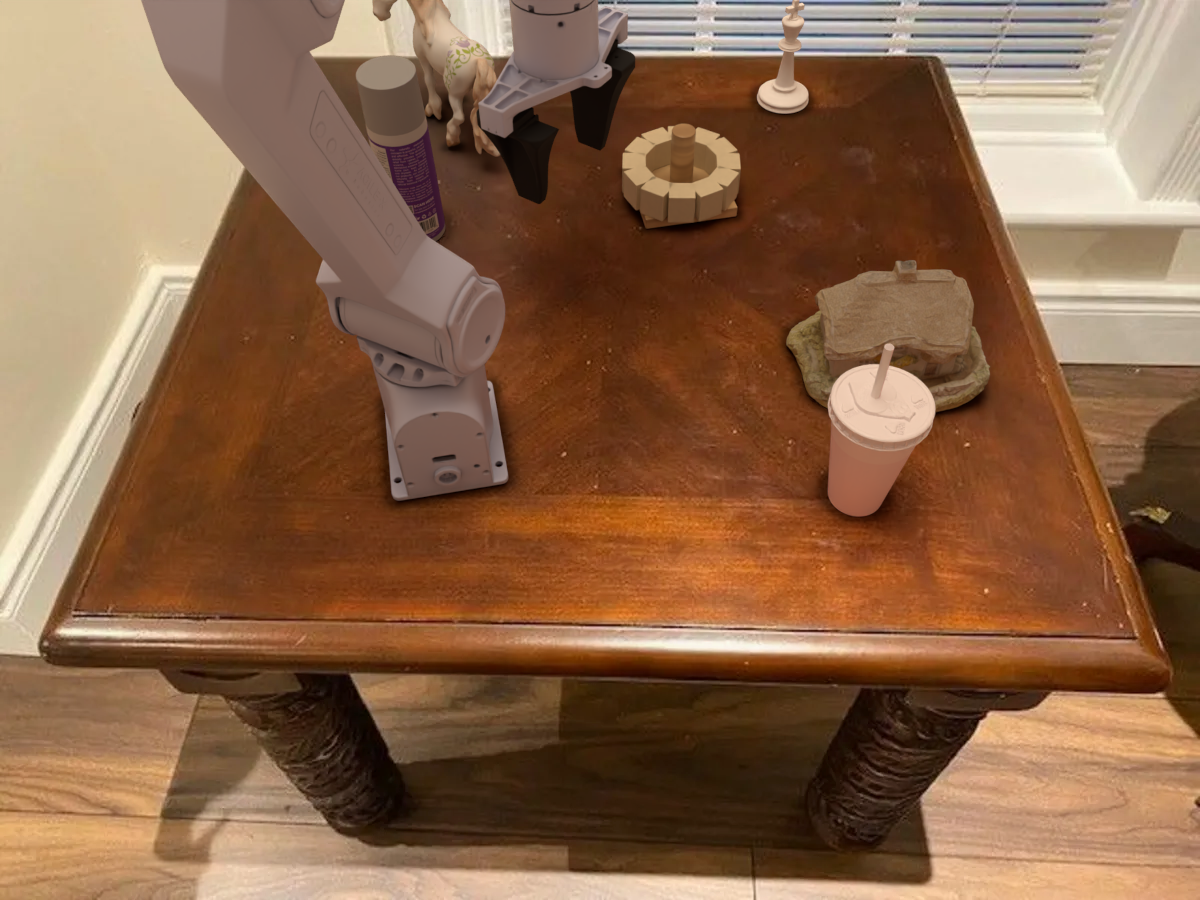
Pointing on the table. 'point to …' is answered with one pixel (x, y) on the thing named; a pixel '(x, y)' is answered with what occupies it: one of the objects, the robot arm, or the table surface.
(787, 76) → the chess piece
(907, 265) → the ceramic model
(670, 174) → the post stand
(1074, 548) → the table surface
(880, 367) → the smoothie
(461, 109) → the unicorn figurine
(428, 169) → the container
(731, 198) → the block ring
